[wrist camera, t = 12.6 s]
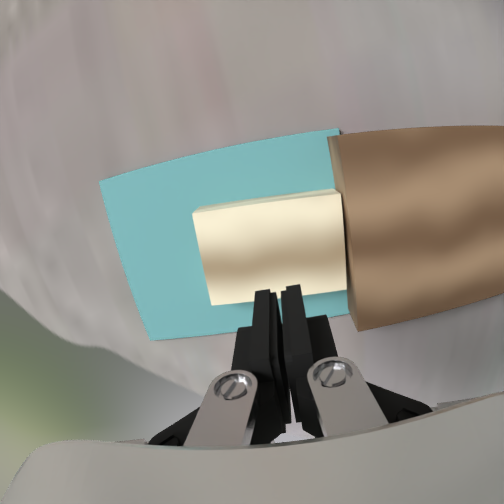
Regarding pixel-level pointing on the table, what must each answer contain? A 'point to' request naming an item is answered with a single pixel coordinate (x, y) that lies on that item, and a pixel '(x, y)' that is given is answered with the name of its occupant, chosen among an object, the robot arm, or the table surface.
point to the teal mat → (184, 235)
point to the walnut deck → (420, 219)
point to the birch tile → (272, 245)
